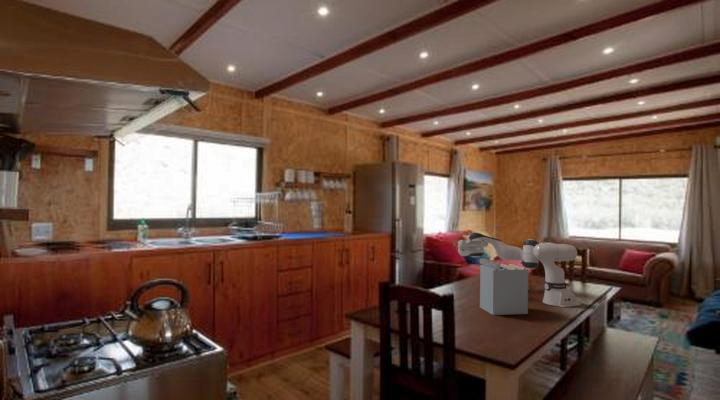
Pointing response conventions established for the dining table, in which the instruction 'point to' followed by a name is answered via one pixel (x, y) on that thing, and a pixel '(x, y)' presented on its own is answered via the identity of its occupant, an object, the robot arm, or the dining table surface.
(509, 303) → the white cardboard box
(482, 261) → the gauge bar
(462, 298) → the dining table surface
